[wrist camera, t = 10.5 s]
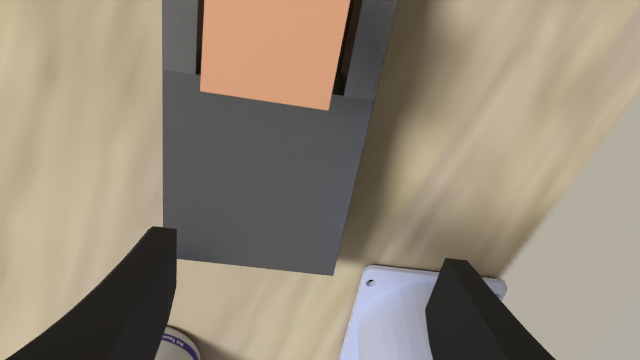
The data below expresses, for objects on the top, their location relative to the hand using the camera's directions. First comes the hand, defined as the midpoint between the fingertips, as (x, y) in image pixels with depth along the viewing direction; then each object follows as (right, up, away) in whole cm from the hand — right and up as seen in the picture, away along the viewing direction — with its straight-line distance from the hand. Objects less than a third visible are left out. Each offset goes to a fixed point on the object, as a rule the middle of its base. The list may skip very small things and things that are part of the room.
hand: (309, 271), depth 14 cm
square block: (-1, +10, +6) cm, 12 cm away
